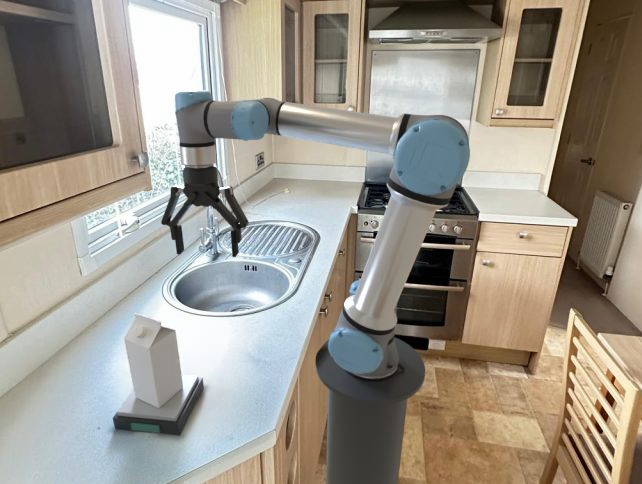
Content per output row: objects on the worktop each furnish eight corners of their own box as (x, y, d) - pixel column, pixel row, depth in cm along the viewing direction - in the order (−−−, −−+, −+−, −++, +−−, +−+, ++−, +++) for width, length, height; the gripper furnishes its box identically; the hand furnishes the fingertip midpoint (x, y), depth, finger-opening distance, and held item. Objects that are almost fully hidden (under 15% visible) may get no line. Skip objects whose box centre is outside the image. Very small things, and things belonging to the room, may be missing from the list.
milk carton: (160, 377, 93) (148, 305, 86) (183, 387, 90) (173, 313, 83) (135, 397, 87) (120, 321, 80) (159, 409, 84) (146, 330, 77)
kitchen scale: (203, 387, 95) (202, 374, 94) (178, 437, 82) (176, 422, 81) (147, 383, 97) (144, 369, 96) (113, 430, 84) (110, 415, 82)
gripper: (258, 162, 92) (262, 249, 99) (153, 160, 94) (165, 245, 102) (250, 169, 85) (255, 262, 92) (137, 166, 88) (151, 257, 95)
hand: (207, 253), depth 97 cm, fingers open, 13 cm apart
